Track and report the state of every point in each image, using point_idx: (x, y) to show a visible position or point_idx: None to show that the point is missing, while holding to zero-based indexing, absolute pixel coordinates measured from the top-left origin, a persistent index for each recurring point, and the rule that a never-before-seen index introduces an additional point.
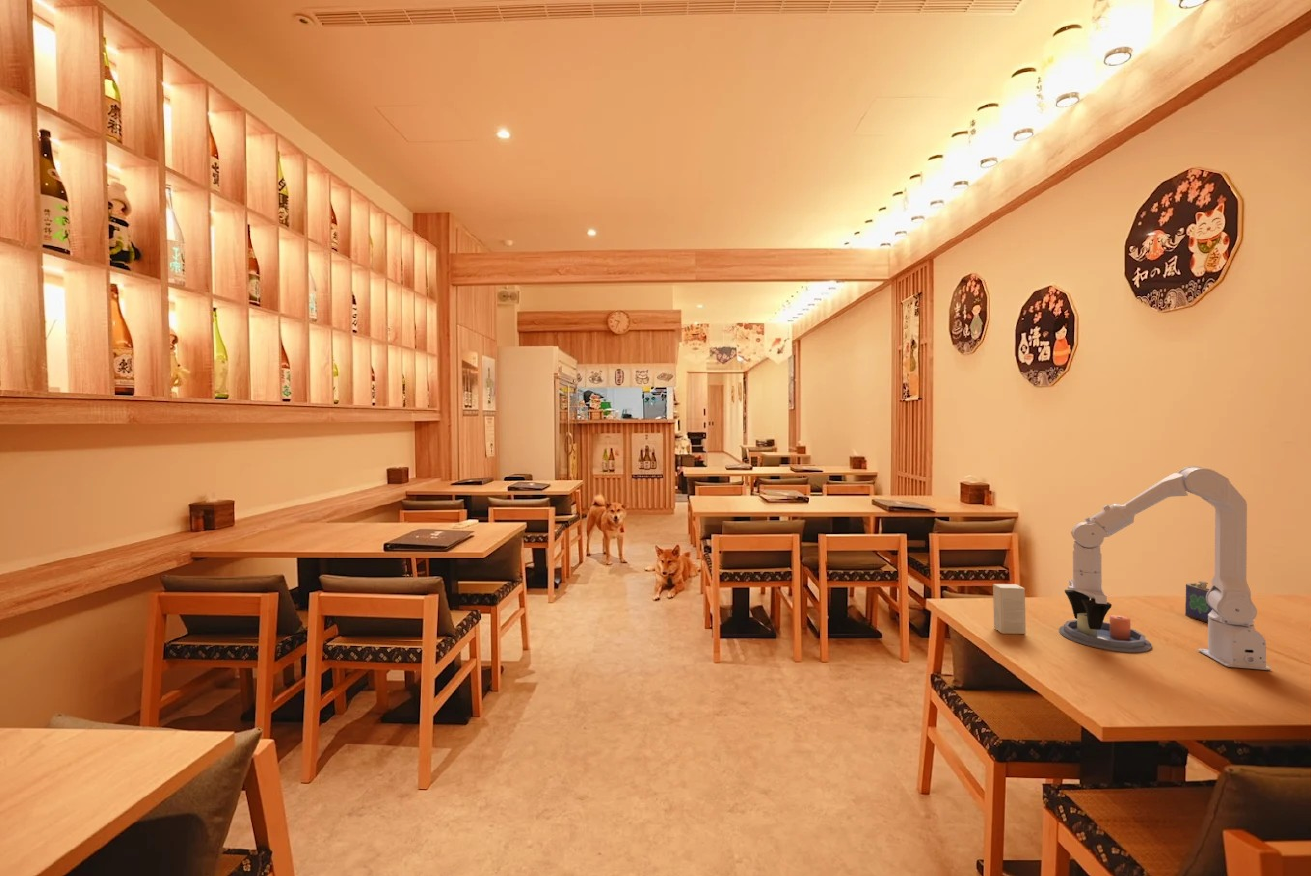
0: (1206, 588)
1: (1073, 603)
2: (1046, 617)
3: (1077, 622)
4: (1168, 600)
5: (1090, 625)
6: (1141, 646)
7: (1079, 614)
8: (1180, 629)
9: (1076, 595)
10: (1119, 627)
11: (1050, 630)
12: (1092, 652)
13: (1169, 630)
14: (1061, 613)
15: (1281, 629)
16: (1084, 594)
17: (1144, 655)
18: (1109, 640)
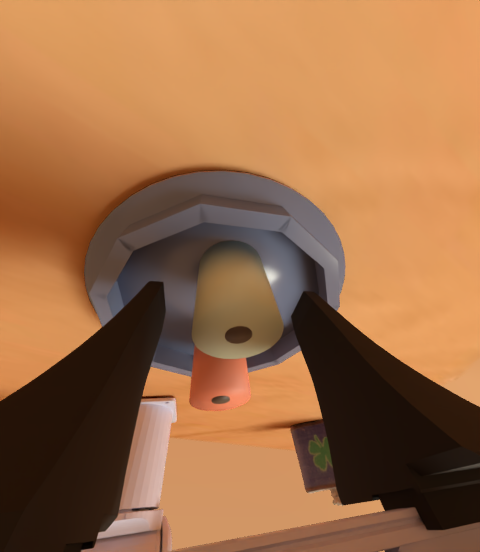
0: (329, 489)
1: (353, 356)
2: (444, 238)
3: (247, 271)
4: None
5: (139, 292)
6: None
7: (258, 312)
8: (281, 405)
9: (383, 439)
10: (195, 364)
11: (317, 153)
12: (5, 178)
13: (278, 397)
14: (436, 299)
15: (274, 443)
16: (358, 469)
17: (92, 327)
18: (97, 294)
